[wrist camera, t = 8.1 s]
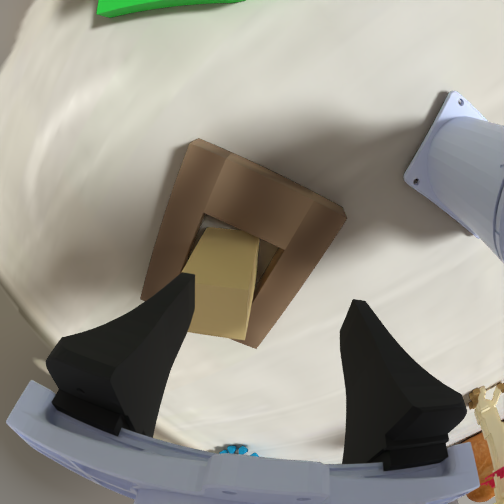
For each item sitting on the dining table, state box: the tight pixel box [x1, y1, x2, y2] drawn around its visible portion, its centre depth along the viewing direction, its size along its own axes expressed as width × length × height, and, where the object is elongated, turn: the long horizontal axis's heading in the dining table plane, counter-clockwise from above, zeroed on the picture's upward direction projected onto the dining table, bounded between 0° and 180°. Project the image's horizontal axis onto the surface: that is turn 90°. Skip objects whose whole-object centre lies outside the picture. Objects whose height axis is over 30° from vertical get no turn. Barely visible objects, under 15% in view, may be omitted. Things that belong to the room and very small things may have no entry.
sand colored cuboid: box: [181, 227, 260, 340], centre depth 20 cm, size 4×4×7 cm
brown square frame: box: [140, 138, 347, 349], centre depth 22 cm, size 11×14×2 cm
